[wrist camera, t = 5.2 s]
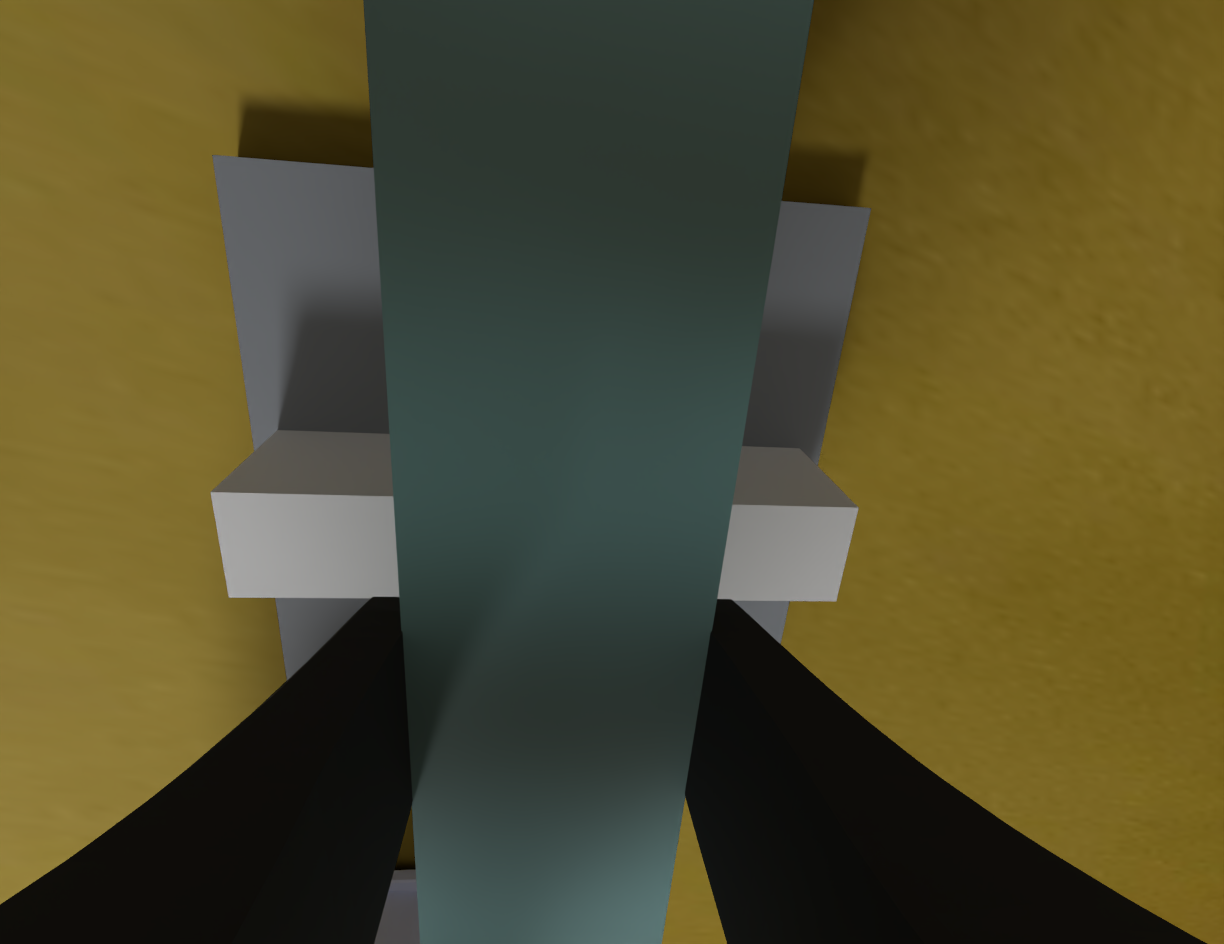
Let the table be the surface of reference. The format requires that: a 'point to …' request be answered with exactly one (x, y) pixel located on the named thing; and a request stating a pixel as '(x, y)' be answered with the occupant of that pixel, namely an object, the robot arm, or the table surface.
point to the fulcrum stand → (359, 423)
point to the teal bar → (567, 424)
